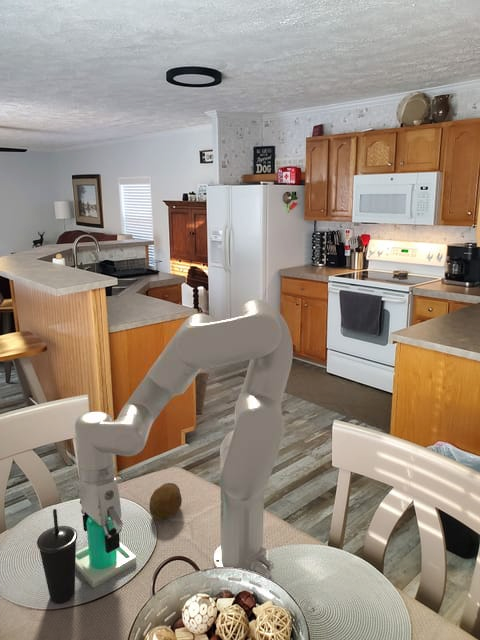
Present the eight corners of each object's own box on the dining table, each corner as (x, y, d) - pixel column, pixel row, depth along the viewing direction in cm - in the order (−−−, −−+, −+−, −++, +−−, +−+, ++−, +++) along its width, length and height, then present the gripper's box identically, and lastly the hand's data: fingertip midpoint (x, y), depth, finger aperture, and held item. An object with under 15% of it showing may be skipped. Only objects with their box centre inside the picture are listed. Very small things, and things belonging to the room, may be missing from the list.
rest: (136, 563, 114) (135, 556, 114) (93, 588, 107) (92, 580, 107) (111, 540, 122) (111, 534, 121) (70, 562, 115) (69, 555, 114)
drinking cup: (60, 577, 110) (52, 495, 105) (89, 587, 108) (83, 503, 103) (34, 602, 103) (25, 516, 98) (65, 614, 101) (56, 526, 96)
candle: (110, 570, 111) (107, 522, 108) (84, 567, 112) (80, 519, 109) (121, 552, 117) (118, 506, 114) (96, 548, 118) (93, 503, 115)
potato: (185, 500, 138) (184, 474, 136) (178, 529, 126) (177, 502, 124) (155, 499, 138) (154, 474, 136) (145, 528, 126) (144, 501, 124)
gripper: (134, 479, 105) (137, 550, 110) (92, 449, 117) (97, 514, 122) (101, 493, 100) (106, 567, 104) (61, 460, 112) (67, 527, 117)
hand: (101, 538), depth 113 cm, fingers open, 9 cm apart
